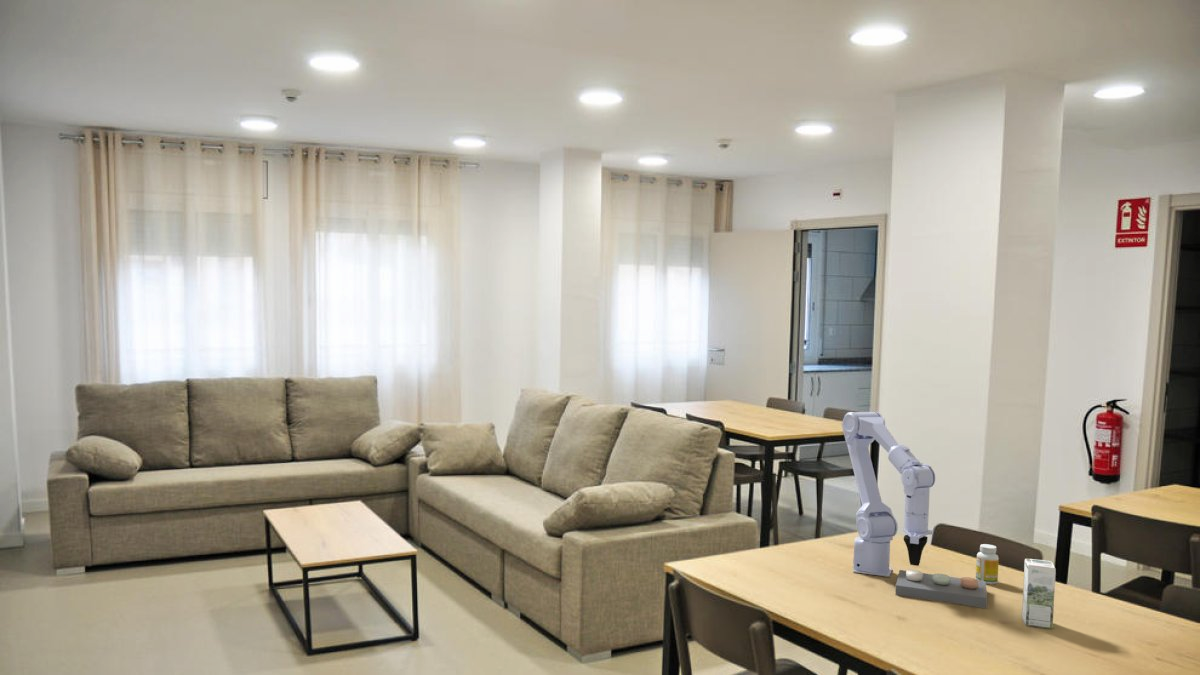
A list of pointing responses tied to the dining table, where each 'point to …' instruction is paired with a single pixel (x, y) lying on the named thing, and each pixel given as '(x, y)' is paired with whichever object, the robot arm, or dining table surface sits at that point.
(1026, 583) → the syrup box
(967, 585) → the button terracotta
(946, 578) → the button sage
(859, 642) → the dining table surface
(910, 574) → the button cream
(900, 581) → the panel
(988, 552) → the supplement bottle
